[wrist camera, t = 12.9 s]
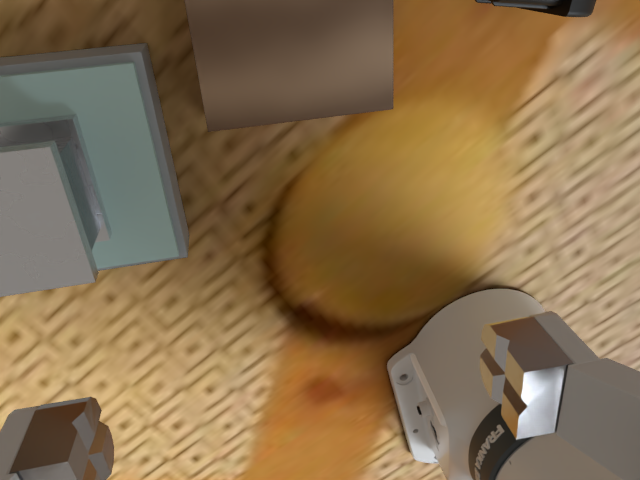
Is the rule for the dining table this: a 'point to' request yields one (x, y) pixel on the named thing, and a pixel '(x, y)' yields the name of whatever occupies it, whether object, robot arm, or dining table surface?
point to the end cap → (550, 6)
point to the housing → (47, 206)
